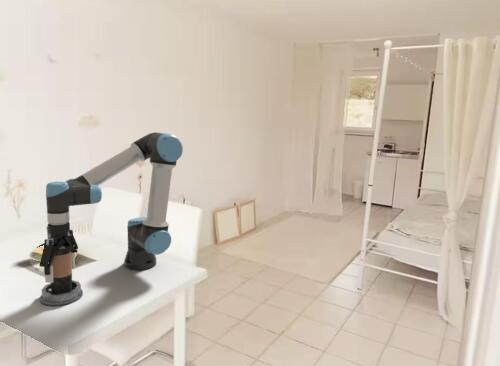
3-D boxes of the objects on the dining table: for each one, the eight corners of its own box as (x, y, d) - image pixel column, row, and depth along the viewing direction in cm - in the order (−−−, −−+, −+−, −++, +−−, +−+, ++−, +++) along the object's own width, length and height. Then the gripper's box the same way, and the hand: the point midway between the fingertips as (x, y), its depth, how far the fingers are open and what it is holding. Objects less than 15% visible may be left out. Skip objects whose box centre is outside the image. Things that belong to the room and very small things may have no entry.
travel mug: (76, 294, 148) (74, 246, 145) (55, 301, 143) (53, 251, 139) (67, 288, 153) (65, 241, 150) (47, 294, 148) (45, 245, 144)
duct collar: (87, 287, 156) (87, 279, 156) (75, 305, 142) (75, 296, 141) (49, 288, 155) (48, 279, 154) (33, 306, 140) (32, 296, 139)
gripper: (69, 213, 156) (71, 262, 159) (26, 231, 131) (29, 287, 135) (86, 215, 155) (87, 263, 158) (45, 232, 130) (48, 290, 134)
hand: (60, 274), depth 147 cm, fingers open, 13 cm apart
